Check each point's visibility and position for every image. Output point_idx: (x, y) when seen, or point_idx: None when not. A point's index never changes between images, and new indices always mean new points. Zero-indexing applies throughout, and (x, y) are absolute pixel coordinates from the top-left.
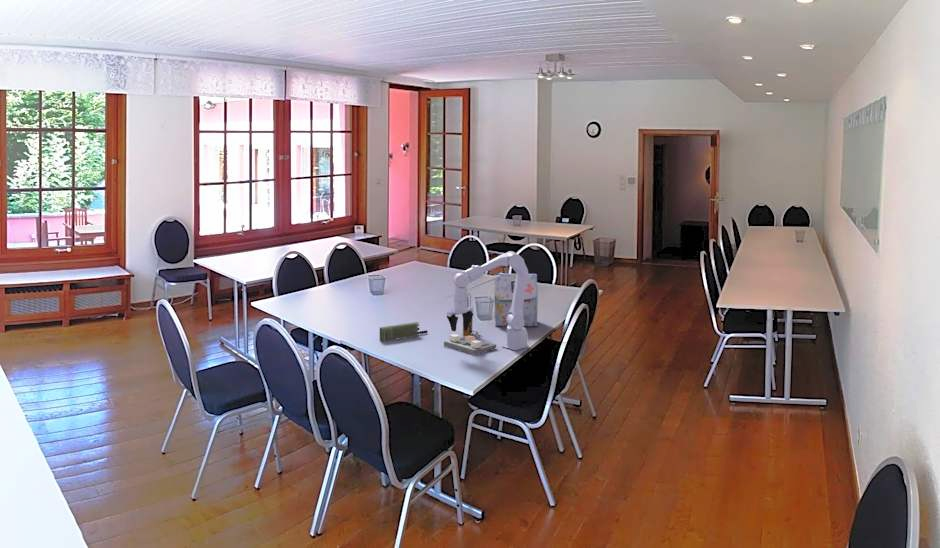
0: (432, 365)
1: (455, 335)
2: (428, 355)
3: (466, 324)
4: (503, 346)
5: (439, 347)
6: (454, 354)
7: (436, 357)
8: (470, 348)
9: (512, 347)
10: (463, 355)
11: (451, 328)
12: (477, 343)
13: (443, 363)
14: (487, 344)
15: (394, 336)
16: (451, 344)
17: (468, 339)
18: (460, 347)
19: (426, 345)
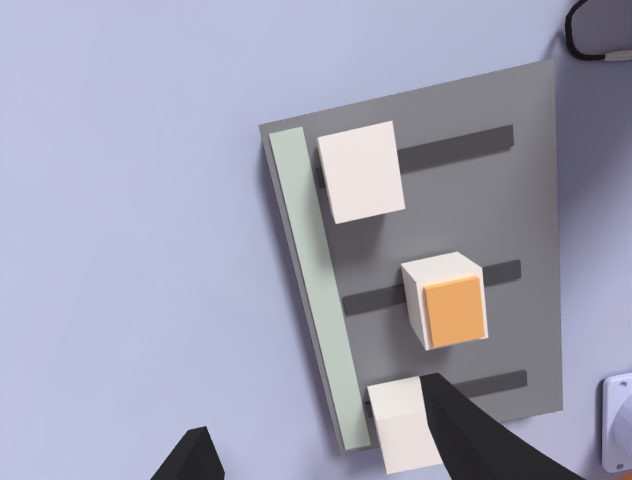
0: (3, 477)
1: (368, 183)
2: (43, 297)
3: (454, 468)
4: (606, 390)
5: (207, 153)
6: (230, 361)
7: (84, 361)
8: (343, 413)
9: (623, 450)
10: (273, 404)
11: (171, 462)
12: (398, 465)
13: (83, 474)
14: (512, 388)
15: None
16: (284, 228)
17: (418, 321)
18: (309, 328)
19: (124, 29)
